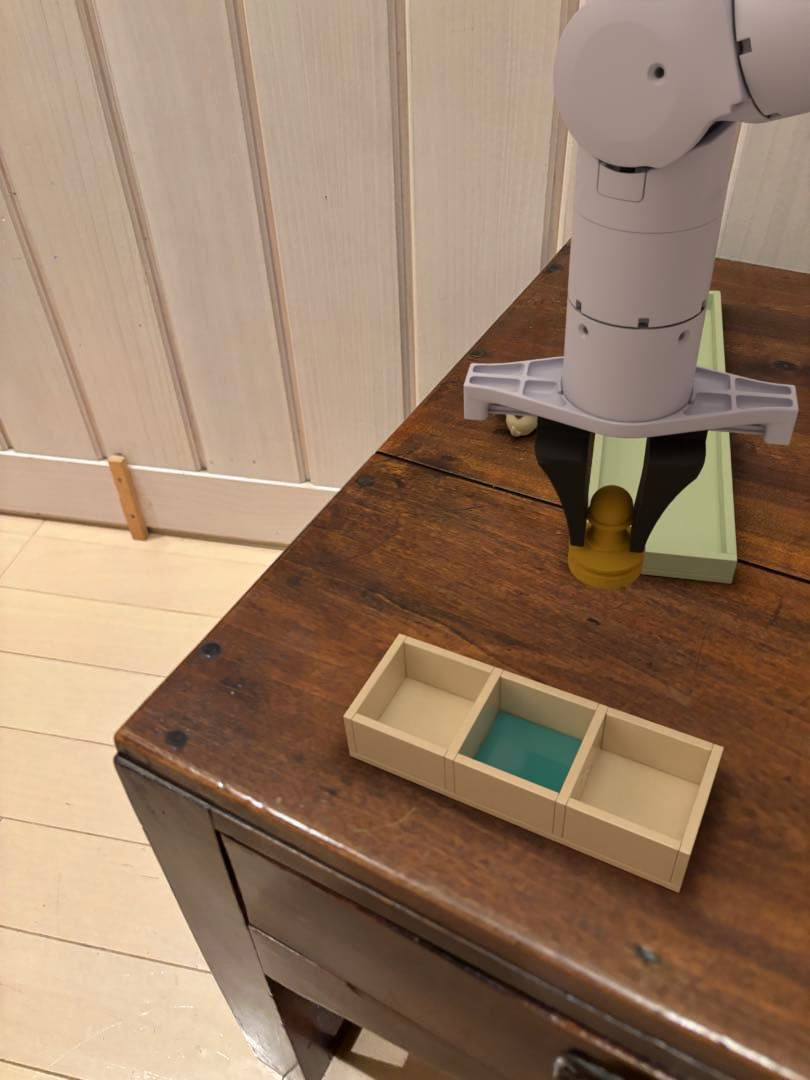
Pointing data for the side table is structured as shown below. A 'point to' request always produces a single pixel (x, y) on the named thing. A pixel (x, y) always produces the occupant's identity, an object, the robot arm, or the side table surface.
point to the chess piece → (607, 542)
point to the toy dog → (521, 424)
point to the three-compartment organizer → (537, 757)
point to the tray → (698, 510)
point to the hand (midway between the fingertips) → (608, 536)
